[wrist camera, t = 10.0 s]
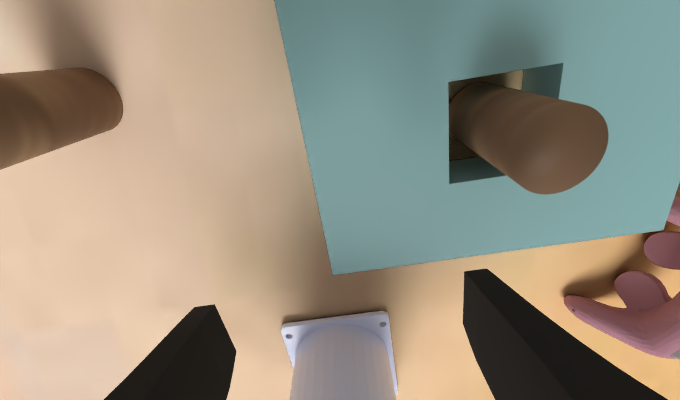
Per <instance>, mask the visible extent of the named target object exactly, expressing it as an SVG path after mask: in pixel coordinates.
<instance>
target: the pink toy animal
mask: <svg viewBox="0 0 680 400" xmlns="http://www.w3.org/2000/svg"><path fill="white" fill-rule="evenodd" d="M667 221H668V222H670V223H672V224H675V225H677V226H679V227H680V197H678V196H675V198H674V200H673V203H672V206H671V209H670V212H669V215H668V218H667ZM644 253H645V255H646V257H647V258H648V259H649V260H650V261H651V262H652V263H654V264H656V265H658V266H660V267H663V268H668V269H678V270H680V232H675V231H666V232H660V233H656V234H653V235H651V236H650V237H649V238H648V239H647V240H646V242H645V244H644ZM614 287H615V290H616V292H617V293H618V295H619V296H620V298H621V299H622V300H623V301H624V303H625V305H626V306H627V308H617V307H611V306H608V305H606V304H603V303H600V302H597V301H594V300H592V299H588V298H584V297H580V296H575V295H567V296H566V297H565V298H564V304H565V305H566V307H567V308H568V309H569V310H570V311H571V312H572V313H573V314H574V315H575V316H576V317H577V318H579V319H580V320H582V321H583V322H585V323H587V324H589V325H591V326H593V327H594V328H596V329H598V330H600V331H602V332H604V333H606V334H608V335H610V336H612V337H614V338H616V339H618V340H620V341H622V342H624V343H626V344H628V345H630V346H632V347H634V348H636V349H638V350H641V351H643V352H645V353H648V354H650V355H654V356H657V357H662V358H669V359H680V292H679V293H678V294H677V295H676V296H675V297H674V298H673V299H672V298H671V297H670V296H669V295H668V293H667V290H666V288H665V286H664V285H663V284H662V282H661V281H660V280H659V279H657V278H656V277H655V276H653V275H652V274H650V273H647V272H644V271H639V270H632V271H628V272H625V273H622V274H621V275H619V276H618V277H617V278H616V280H615V282H614Z"/></svg>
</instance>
